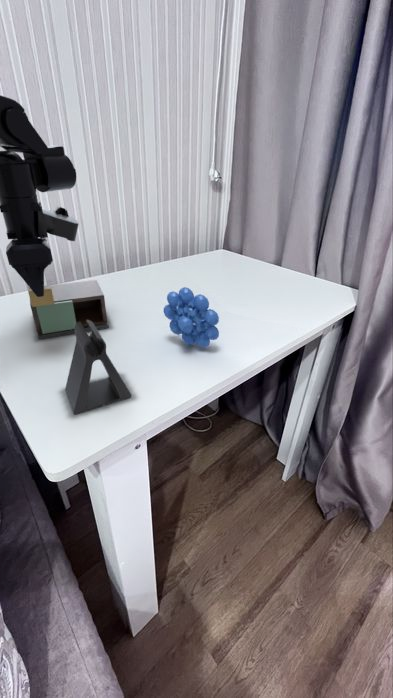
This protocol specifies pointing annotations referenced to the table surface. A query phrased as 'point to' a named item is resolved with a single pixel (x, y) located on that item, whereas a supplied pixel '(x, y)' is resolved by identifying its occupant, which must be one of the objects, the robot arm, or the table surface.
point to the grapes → (191, 317)
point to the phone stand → (78, 382)
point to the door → (53, 312)
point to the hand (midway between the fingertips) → (39, 286)
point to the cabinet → (77, 306)
